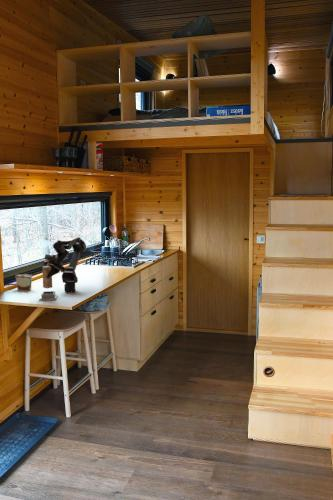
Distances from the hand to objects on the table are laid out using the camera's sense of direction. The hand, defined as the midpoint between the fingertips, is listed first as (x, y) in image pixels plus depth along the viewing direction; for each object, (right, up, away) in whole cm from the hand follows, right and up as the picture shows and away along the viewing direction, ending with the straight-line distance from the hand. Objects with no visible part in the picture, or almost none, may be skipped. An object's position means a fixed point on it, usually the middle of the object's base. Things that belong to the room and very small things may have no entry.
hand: (45, 277), depth 303 cm
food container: (-20, -10, +28) cm, 36 cm away
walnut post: (+1, -6, +2) cm, 7 cm away
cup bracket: (+1, -13, +3) cm, 14 cm away
